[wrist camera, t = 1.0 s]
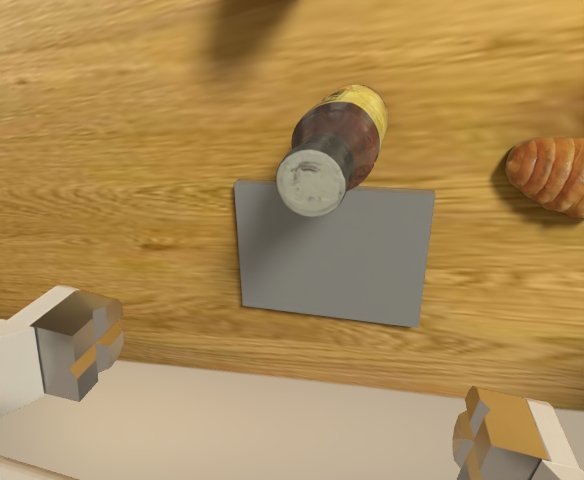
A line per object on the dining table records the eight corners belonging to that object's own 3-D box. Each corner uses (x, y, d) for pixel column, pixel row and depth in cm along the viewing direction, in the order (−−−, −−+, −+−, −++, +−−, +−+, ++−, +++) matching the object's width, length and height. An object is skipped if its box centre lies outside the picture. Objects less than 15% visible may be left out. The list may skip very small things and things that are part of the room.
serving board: (434, 190, 42) (435, 195, 41) (417, 320, 48) (418, 327, 47) (239, 179, 47) (233, 183, 45) (246, 299, 53) (242, 305, 51)
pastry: (489, 189, 41) (497, 202, 38) (522, 118, 38) (532, 125, 35) (592, 218, 40) (609, 234, 36) (634, 147, 37) (656, 157, 33)
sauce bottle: (344, 69, 40) (292, 91, 22) (402, 106, 40) (396, 156, 22) (309, 131, 43) (238, 194, 25) (363, 165, 43) (330, 251, 25)
